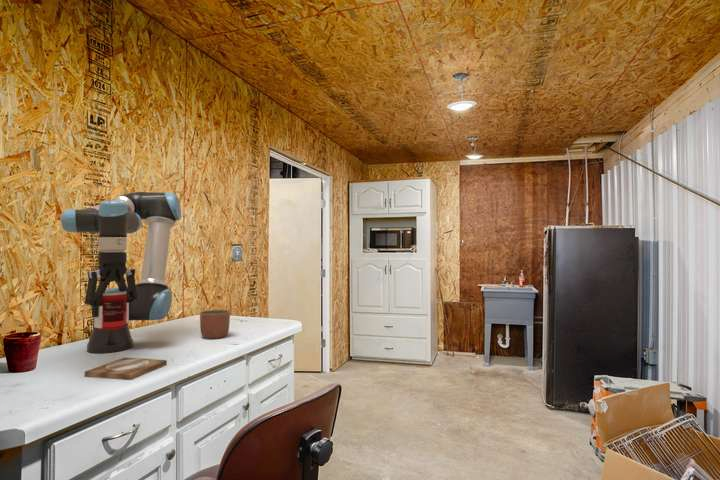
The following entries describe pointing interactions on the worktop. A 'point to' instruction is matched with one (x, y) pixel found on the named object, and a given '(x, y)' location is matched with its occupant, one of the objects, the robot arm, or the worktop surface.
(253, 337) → the worktop surface
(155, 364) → the board
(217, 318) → the planter
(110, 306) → the canned food
